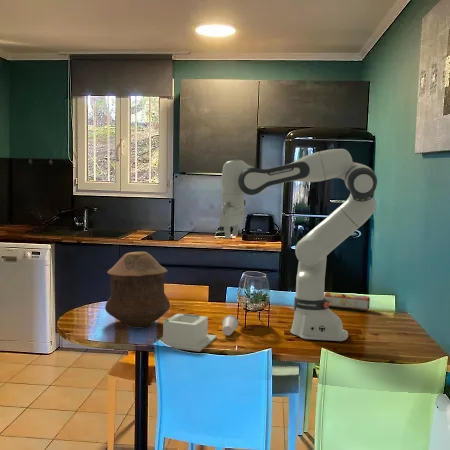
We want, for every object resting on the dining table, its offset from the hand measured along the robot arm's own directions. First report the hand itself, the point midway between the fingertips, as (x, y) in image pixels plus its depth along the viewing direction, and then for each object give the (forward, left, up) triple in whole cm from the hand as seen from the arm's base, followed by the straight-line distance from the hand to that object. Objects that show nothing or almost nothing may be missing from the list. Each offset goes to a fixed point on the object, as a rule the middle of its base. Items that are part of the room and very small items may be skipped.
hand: (231, 236), depth 205 cm
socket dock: (+10, +21, -37) cm, 44 cm away
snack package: (-48, -52, -32) cm, 78 cm away
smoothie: (-3, +11, -34) cm, 36 cm away
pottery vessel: (+35, +10, -37) cm, 52 cm away
